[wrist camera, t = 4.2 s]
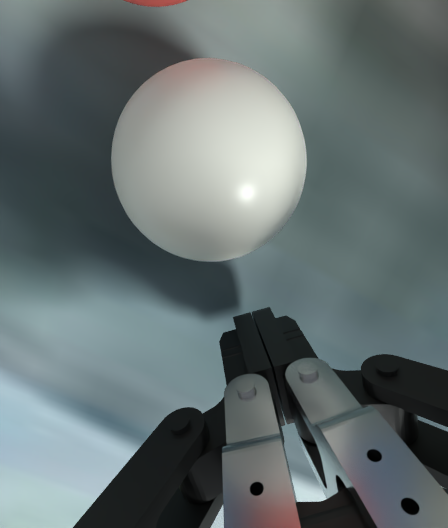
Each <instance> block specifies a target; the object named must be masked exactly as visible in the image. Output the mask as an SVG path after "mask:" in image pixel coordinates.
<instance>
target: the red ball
mask: <svg viewBox="0 0 448 528" xmlns="http://www.w3.org/2000/svg"><path fill="white" fill-rule="evenodd" d="M124 1H127V2H130V3H133V4H137V5H142V6H151V7H160V6H169V5H175V4H178V3H182V2H185V1H187V0H124Z"/></svg>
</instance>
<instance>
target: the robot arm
mask: <svg viewBox="0 0 448 528" xmlns="http://www.w3.org/2000/svg"><path fill="white" fill-rule="evenodd" d="M252 316H253V318H252ZM233 319H234V323H235V326H236V329H235V330H232V331H228V332H224V333H223V335H222V337H221V339H220V341H219V342H220V348H221V354H222V360H223V366H224V372H225V378H226V384H227V386H226V388H225V391H224V398H223V399H222V400H221V401H220V402H219V403H218V404H217V405H216V406H215V407H213V408H212V409H210V410H208V411H206V412H205V413H203V414H202V413H201V411H199V410H198V409H195V408H190V407H187V408H181V409H178V410H176V411H174V412H172V413H170V414H169V415H168V416H167V417H165V418H164V420H163V421H162V422H161V423H160V424H159V425H158V427H157V428H156V429H155V430H154V431H153V433H152V434H151V435H150V436H149V437H148V439H147V440H146V441H145V442H144V443H143V445H142V446H141V447H140V448H139V449H138V450H137V452H136V453H135V454H134V455H133V456H132V458H131V459H130V460H129V461H128V462H127V464H126V465H125V466H124V467H123V468H122V470H121V471H120V472H119V473H118V474H117V476H116V477H115V478H114V479H113V480H112V481H111V483H110V484H109V485H108V486H107V487H106V489H105V490H104V491H103V492H102V493H101V495H100V496H99V497H98V498H97V499H96V501H95V502H94V503H93V504H92V505H91V507H90V508H89V509H88V510H87V511H86V512H85V514H84V515H83V516H82V517H81V518H80V520H79V521H78V522H77V523H76V524H75V526H74V527H73V528H210V527H211V525H212V524H213V522H214V520H215V518H216V516H217V514H218V512H219V511H220V509H221V507H222V505H223V506H224V528H448V432H447V431H444V430H442V429H439V428H437V427H434V426H432V425H429V424H427V423H424V422H422V421H419V420H418V418H417V415H418V416H421V417H423V418H426V419H428V420H431V421H433V422H436V423H438V424H441V425H444V426H446V427H448V371H447V370H444V369H440V368H437V367H433V366H430V365H426V364H423V363H419V362H416V361H412V360H409V359H405V358H402V357H398V356H394V355H388V354H382V355H375V356H372V357H370V358H368V359H366V360H365V361H364V362H363V364H362V366H361V370H356V371H341V370H335V369H332V368H331V367H330V366H329V365H328V364H327V363H326V362H325V361H323V360H320V359H318V357H317V356H316V354H315V352H314V351H313V349H312V347H311V346H310V344H309V343H308V341H307V339H306V338H305V336H304V334H303V333H302V331H301V330H300V328H299V326H298V325H297V323H296V321H295V320H293V319H291V318H289V317H288V316H283V317H279V318H275V317H274V315H273V313H272V311H271V309H270V307H268V308H264V309H261V310H257V311H253V312H252V315H251V313H246V314H243V315H239V316H235V317H233ZM282 411H283V413H282ZM283 414H284V417H285V420H286V422H287V424H290V423H295V425H296V428H297V431H298V435H299V440H300V443H301V446H302V448H303V450H304V452H305V454H306V456H307V459H308V461H309V463H310V465H311V467H312V469H313V471H314V473H315V475H316V477H317V479H318V481H319V484H320V486H321V488H322V490H323V492H324V494H325V496H326V498H327V499H326V500H324V501H321V502H297V500H296V496H295V491H294V487H293V483H292V478H291V474H290V470H289V466H288V461H287V457H286V453H285V449H284V436H283V432H282V428H281V426H284V425H285V422H284V418H283ZM441 486H442V487H444V488H442V487H441ZM445 488H446V489H445Z"/></svg>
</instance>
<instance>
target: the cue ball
mask: <svg viewBox="0 0 448 528" xmlns="http://www.w3.org/2000/svg"><path fill="white" fill-rule="evenodd" d="M111 165H112V176H113V180H114V185H115V189H116V192H117V194H118V197H119V200H120V202H121V204H122V206H123V208H124V210H125V212H126V214H127V215H128V217H129V218H130V220H131V221H132V223H133V224H134V225H135V226H136V227H137V228H138V229H139V231H140V232H141V233H142V234H143V235H145V236H146V237H147V238H148V239H149V240H150V241H152V242H153V243H154V244H156V245H157V246H159V247H160V248H162V249H163V250H165V251H167V252H169V253H171V254H174V255H177V256H179V257H182V258H186V259H191V260H195V261H204V262H218V261H225V260H230V259H234V258H238V257H241V256H243V255H246V254H248V253H250V252H252V251H254V250H256V249H258V248H260V247H261V246H263V245H264V244H266V243H267V242H268V241H269V240H271V239H272V238H273V237H274V236H275V235H276V234H277V233H278V232H279V231H280V230H281V229H282V228H283V227H284V225H285V224H286V223H287V221H288V220H289V218H290V217H291V215H292V214H293V212H294V210H295V208H296V206H297V204H298V202H299V199H300V196H301V193H302V190H303V186H304V181H305V176H306V165H307V158H306V147H305V141H304V136H303V133H302V129H301V126H300V123H299V121H298V118H297V116H296V114H295V112H294V110H293V108H292V107H291V105H290V104H289V102H288V100H287V99H286V98H285V97H284V96H283V94H282V93H281V92H280V91H279V90H278V89H277V87H276V86H275V85H274V84H272V83H271V82H270V81H269V80H268V79H267V78H266V77H264V76H263V75H261V74H259V73H258V72H256V71H255V70H253V69H251V68H249V67H246V66H244V65H242V64H239V63H235V62H232V61H228V60H224V59H215V58H198V59H192V60H187V61H182V62H179V63H177V64H174V65H171V66H169V67H167V68H165V69H163V70H161V71H159V72H158V73H156V74H155V75H153V76H152V77H151V78H149V79H148V80H147V81H145V82H144V83H143V84H142V85H141V86H140V87H139V88H138V90H137V91H136V92H135V93H134V94H133V95H132V97H131V98H130V100H129V101H128V102H127V104H126V106H125V108H124V109H123V111H122V113H121V115H120V117H119V120H118V123H117V126H116V129H115V133H114V137H113V142H112V154H111Z"/></svg>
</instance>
